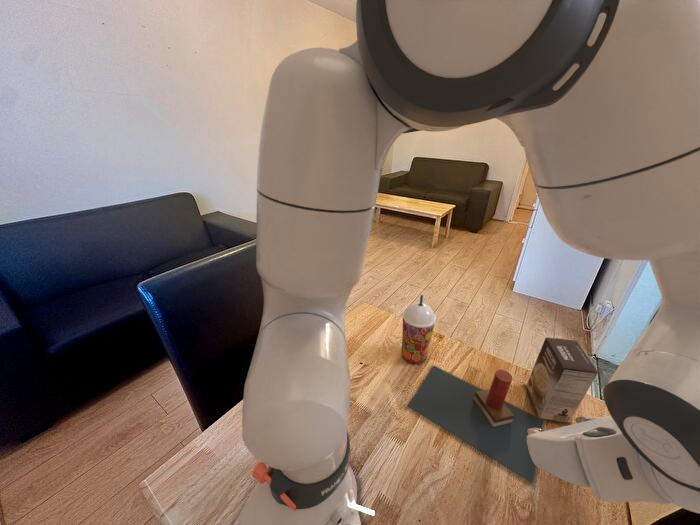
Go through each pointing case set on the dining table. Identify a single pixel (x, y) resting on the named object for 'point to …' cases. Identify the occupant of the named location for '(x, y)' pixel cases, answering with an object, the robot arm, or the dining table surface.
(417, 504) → the dining table surface
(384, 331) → the dining table surface
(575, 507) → the dining table surface
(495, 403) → the red cylinder on base
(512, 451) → the mat
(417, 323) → the smoothie
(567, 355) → the coffee box
